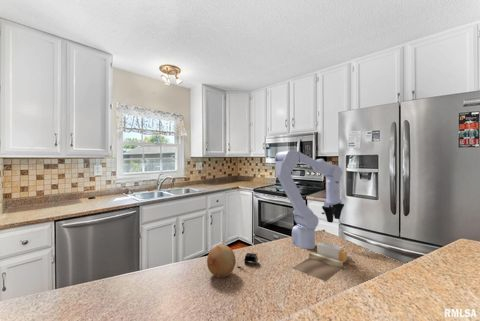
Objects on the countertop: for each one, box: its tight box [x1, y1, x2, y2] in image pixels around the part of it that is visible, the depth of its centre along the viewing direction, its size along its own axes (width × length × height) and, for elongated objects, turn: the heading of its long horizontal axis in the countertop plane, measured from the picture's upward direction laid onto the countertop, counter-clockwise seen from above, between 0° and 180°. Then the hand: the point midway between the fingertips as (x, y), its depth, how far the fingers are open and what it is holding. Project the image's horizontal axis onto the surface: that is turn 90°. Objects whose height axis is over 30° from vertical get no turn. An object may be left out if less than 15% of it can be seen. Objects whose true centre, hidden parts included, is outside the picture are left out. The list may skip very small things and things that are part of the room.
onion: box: [206, 243, 237, 278], centre depth 74 cm, size 10×10×10 cm
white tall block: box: [316, 241, 348, 263], centre depth 82 cm, size 10×4×5 cm, turn 43°
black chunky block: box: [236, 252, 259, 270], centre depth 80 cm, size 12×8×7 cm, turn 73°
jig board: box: [292, 251, 353, 282], centre depth 79 cm, size 12×22×3 cm, turn 134°
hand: (333, 220), depth 101 cm, fingers open, 7 cm apart
